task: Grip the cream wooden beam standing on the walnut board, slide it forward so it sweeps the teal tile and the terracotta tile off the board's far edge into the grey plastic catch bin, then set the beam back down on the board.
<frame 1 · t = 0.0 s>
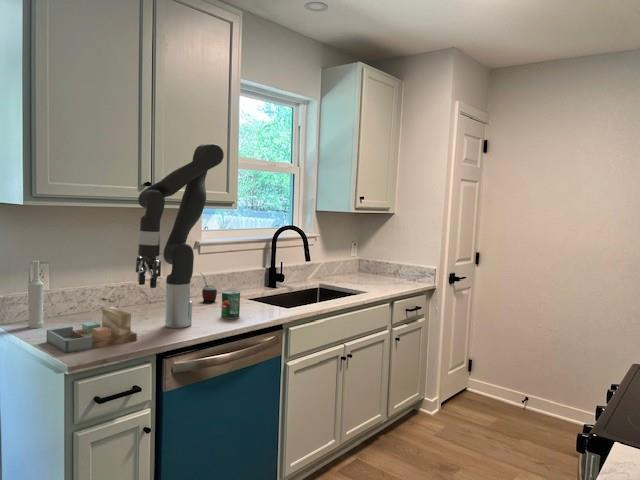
hand: (147, 286, 187), 17 cm above the worktop, tool pointing down, fingers open, 8 cm apart
tile b: (101, 335, 170), point 2 cm above the worktop, touching board
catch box: (69, 345, 167), on the worktop
canned tomato: (230, 317, 217), on the worktop
board: (104, 338, 175), on the worktop
tile a: (91, 330, 176), point 2 cm above the worktop, touching board
cream wooden beam: (116, 330, 178), point 2 cm above the worktop, touching board
bottle: (35, 327, 187), on the worktop
mate gourd: (208, 302, 245), on the worktop
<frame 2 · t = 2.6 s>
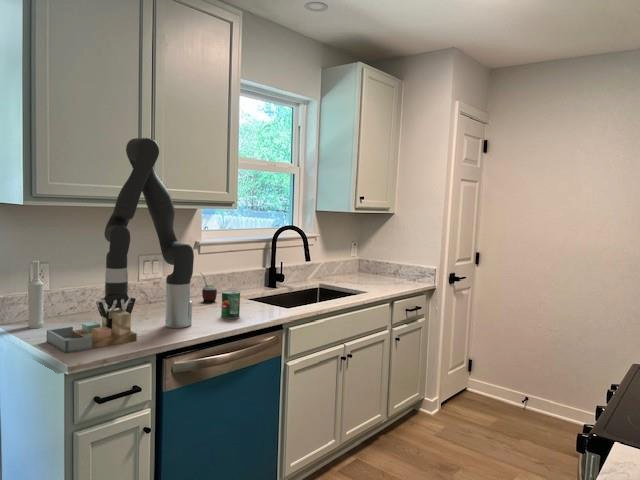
hand: (116, 327, 178), 4 cm above the worktop, tool pointing down, fingers closed on cream wooden beam, 4 cm apart
cream wooden beam: (116, 330, 178), point 2 cm above the worktop, touching board, gripper
everything else where it was.
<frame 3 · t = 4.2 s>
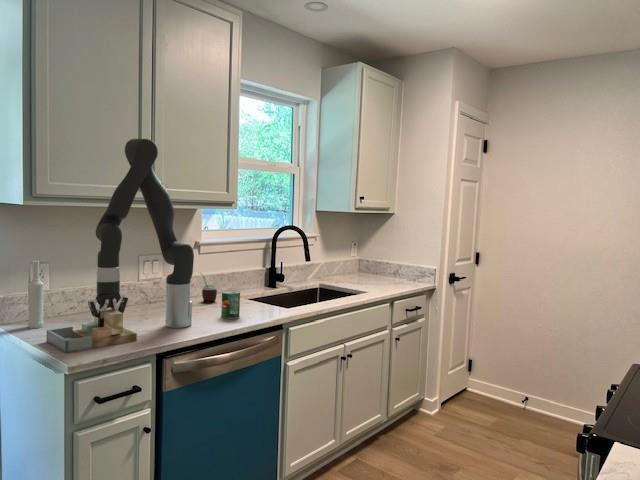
hand: (108, 326, 176), 4 cm above the worktop, tool pointing down, fingers closed on cream wooden beam, 4 cm apart
tile b: (101, 335, 170), point 3 cm above the worktop, touching cream wooden beam
tile a: (90, 330, 176), point 3 cm above the worktop, touching board, cream wooden beam
cream wooden beam: (108, 329, 176), point 3 cm above the worktop, touching gripper, tile a, tile b
everything else where it was.
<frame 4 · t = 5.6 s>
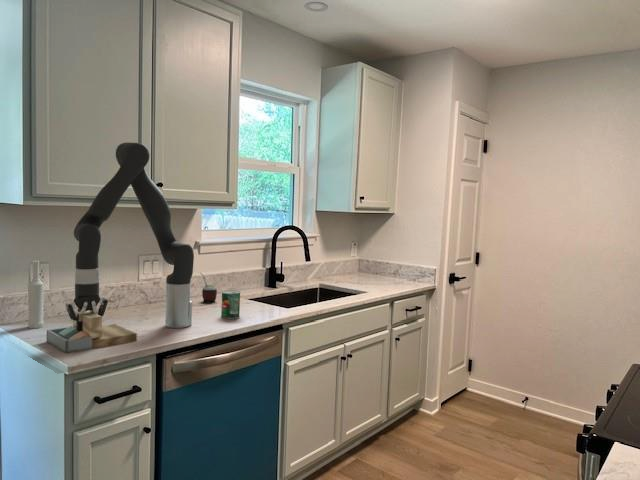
hand: (87, 330, 171), 4 cm above the worktop, tool pointing down, fingers closed on cream wooden beam, 4 cm apart
tile b: (80, 342, 165), point 2 cm above the worktop, tilted 25°, touching board, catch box, cream wooden beam
tile a: (70, 336, 171), point 2 cm above the worktop, tilted 25°, touching board, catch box, cream wooden beam
cream wooden beam: (87, 333, 171), point 3 cm above the worktop, touching gripper, tile a, tile b
everything else where it was.
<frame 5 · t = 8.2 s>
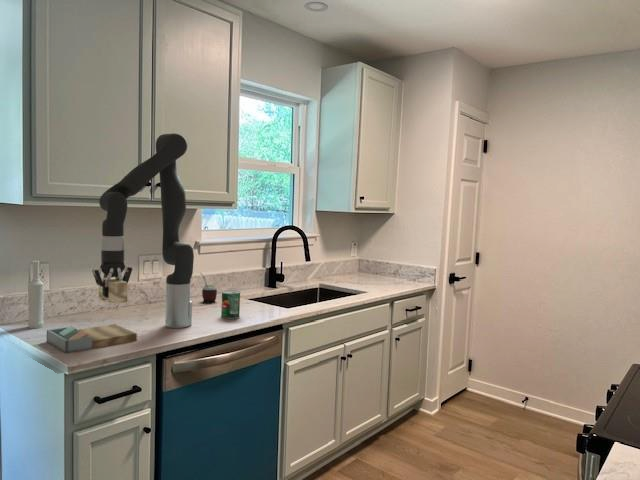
hand: (112, 296, 176), 15 cm above the worktop, tool pointing down, fingers closed on cream wooden beam, 4 cm apart
tile b: (80, 342, 165), point 2 cm above the worktop, tilted 25°, touching board, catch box
tile a: (70, 336, 171), point 2 cm above the worktop, tilted 25°, touching board, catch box
cream wooden beam: (112, 299, 176), point 14 cm above the worktop, touching gripper
everything else where it was.
when the fingers open (4 cm above the worktop, at t = 10.5 s): cream wooden beam stays where it is, resting on board.
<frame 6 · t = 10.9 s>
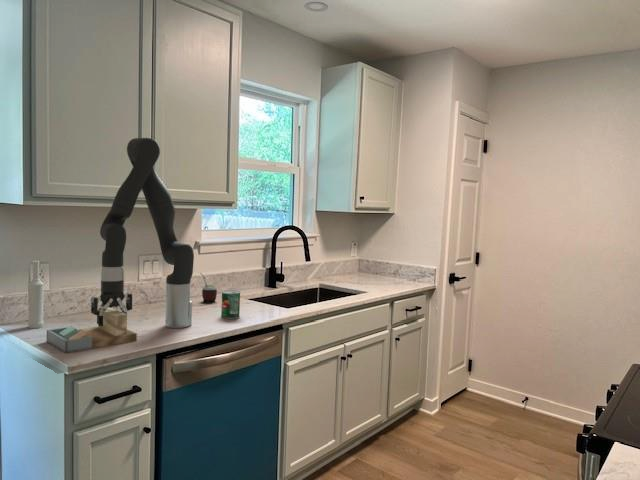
hand: (112, 324, 177), 5 cm above the worktop, tool pointing down, fingers open, 7 cm apart
cream wooden beam: (112, 330, 177), point 2 cm above the worktop, touching board
everything else where it was.
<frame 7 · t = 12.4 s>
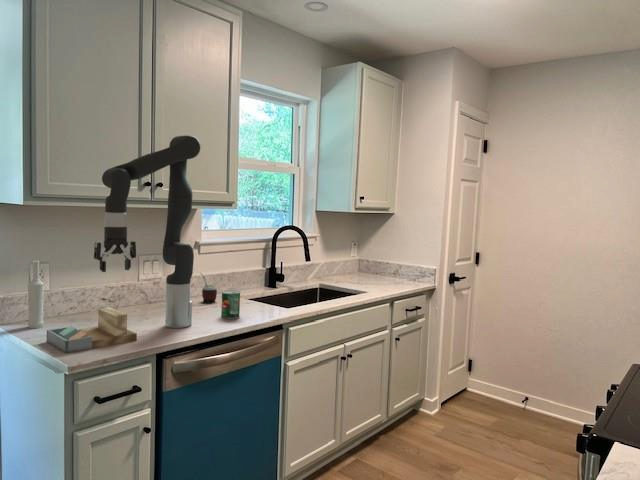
hand: (115, 270, 176), 24 cm above the worktop, tool pointing down, fingers open, 8 cm apart
nothing on the worktop moved.
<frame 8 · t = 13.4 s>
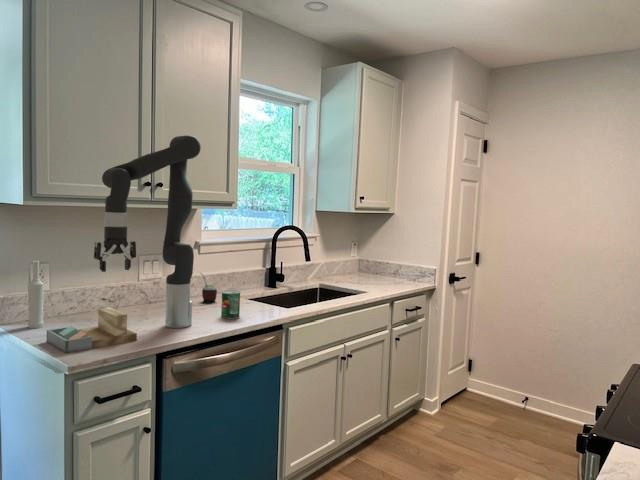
hand: (115, 270, 176), 24 cm above the worktop, tool pointing down, fingers open, 8 cm apart
nothing on the worktop moved.
at the end: tile a inside the target area on the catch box (4.8 cm from its centre), point 1.6 cm above the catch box's base; tile b inside the target area on the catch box (5.0 cm from its centre), point 1.6 cm above the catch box's base; the gripper is holding nothing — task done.
